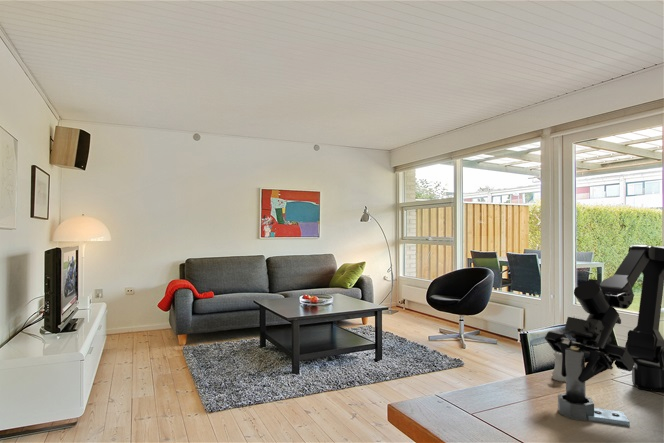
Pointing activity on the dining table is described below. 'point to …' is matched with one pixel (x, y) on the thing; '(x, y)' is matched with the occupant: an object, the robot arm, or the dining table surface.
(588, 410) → the hinge leaf
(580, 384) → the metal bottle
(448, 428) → the dining table surface
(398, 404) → the dining table surface
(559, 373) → the rook chess piece
